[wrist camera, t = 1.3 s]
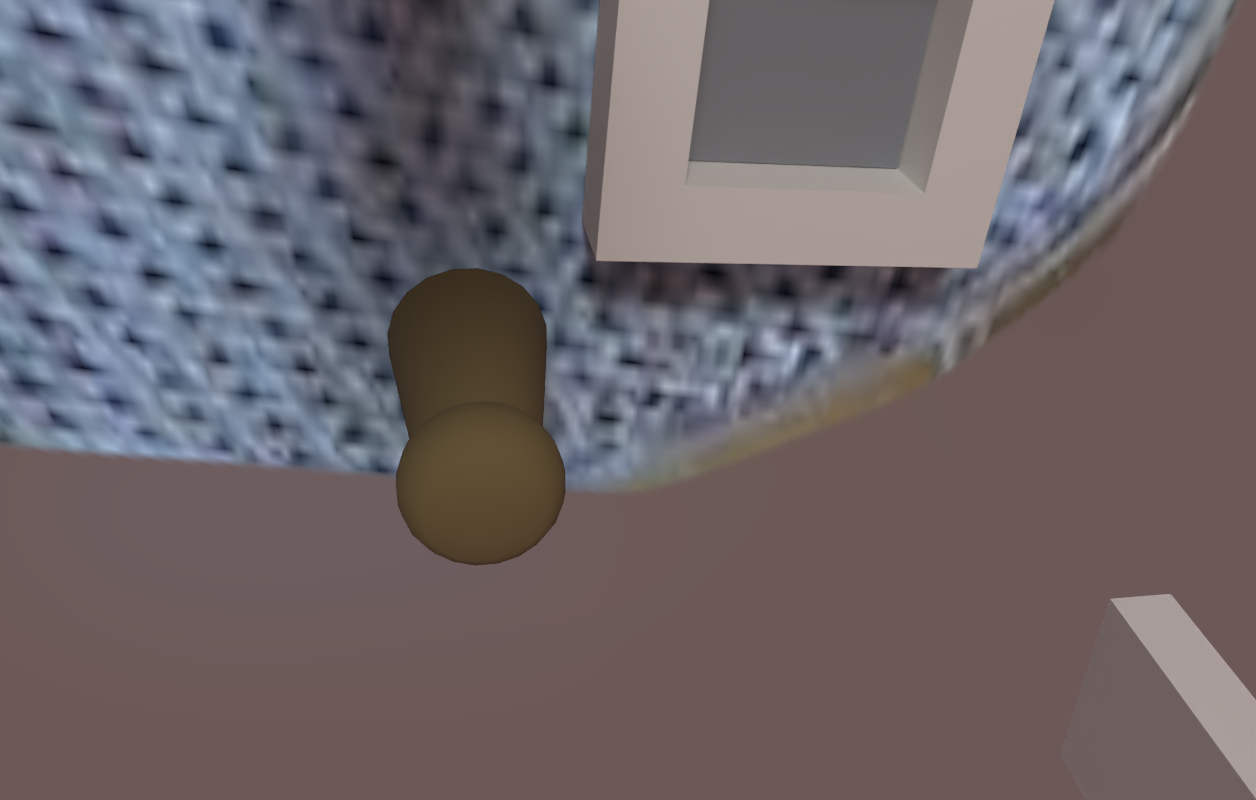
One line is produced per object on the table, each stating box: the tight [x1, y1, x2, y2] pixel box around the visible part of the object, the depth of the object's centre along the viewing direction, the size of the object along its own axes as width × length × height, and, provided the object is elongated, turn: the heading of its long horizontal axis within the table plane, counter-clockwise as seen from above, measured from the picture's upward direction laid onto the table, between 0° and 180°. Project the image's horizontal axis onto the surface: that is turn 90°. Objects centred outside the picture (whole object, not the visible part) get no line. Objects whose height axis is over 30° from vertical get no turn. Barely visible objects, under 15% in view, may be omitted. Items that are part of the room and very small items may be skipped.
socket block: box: [582, 0, 1054, 268], centre depth 36 cm, size 14×14×4 cm
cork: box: [387, 268, 565, 565], centre depth 37 cm, size 6×6×11 cm
